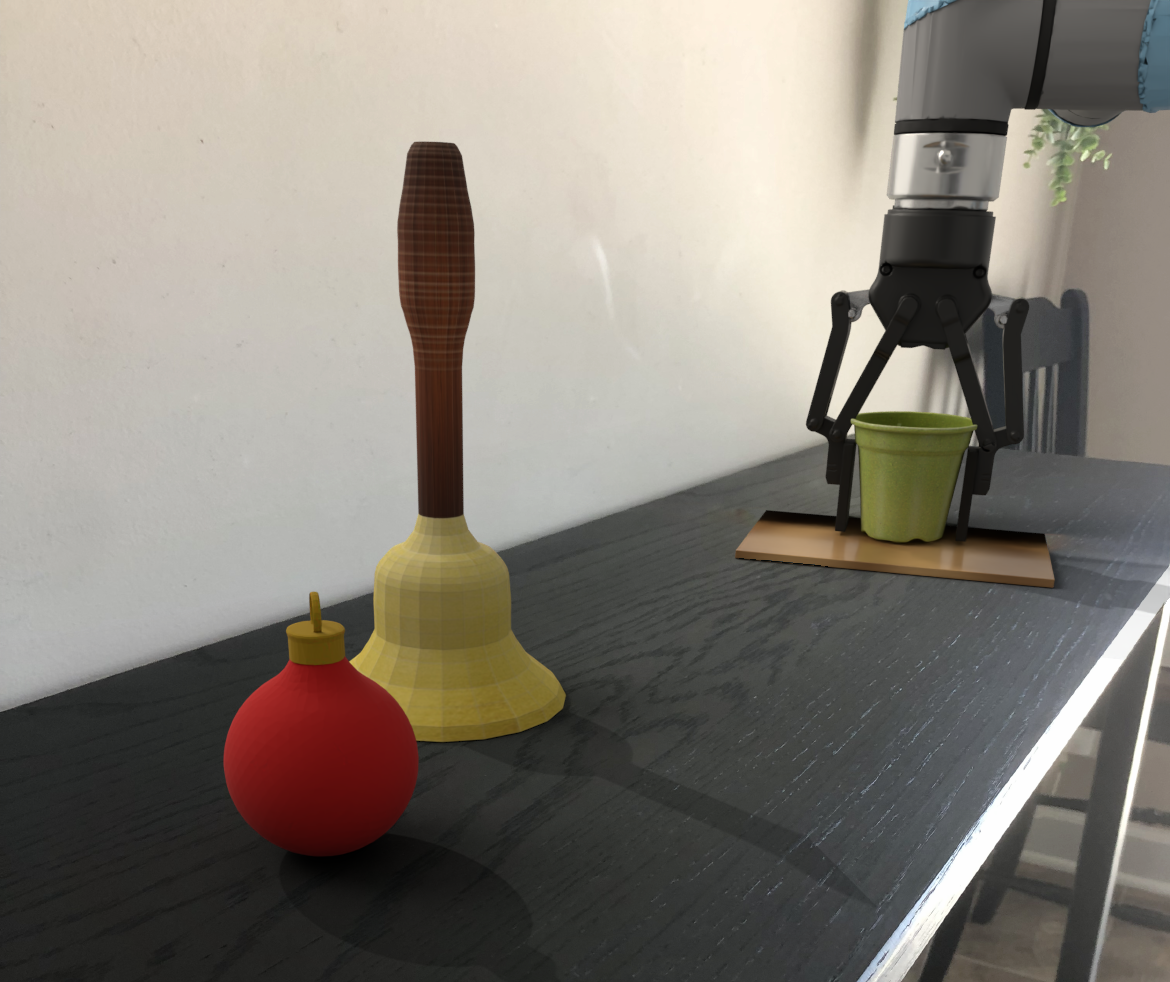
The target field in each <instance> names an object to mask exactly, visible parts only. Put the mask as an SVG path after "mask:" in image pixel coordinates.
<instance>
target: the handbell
mask: <svg viewBox="0 0 1170 982" xmlns="http://www.w3.org/2000/svg"><path fill="white" fill-rule="evenodd" d="M405 158H406V160H405V167H404V175H403V183H402V189H401V194H400V199H399V205H398V215H397V222H396V223H397V224H396V225H397V226H396V234H397V236H396V237H397V276H398V279H397V280H398V296H399V304H400V307H401V309H402V313H403V317H404V321H405V324H406V327H407V331H408V334H409V337H410V340H411V345H412V354H413V362H414V364H413V365H414V389H415V390H414V392H415V393H414V395H415V397H414V398H415V433H416V434H415V435H416V437H415V438H416V472H417V474H416V475H417V504H418V505H417V512H418V514H417V517H416V520H415V524H414V528H413V530H412V532H411V533H410V534H409V536H408V537H407V538H406V540H405V541H403V542H400V543H398V544H395V545H393V546H392V547H390V549H389V550H388V551H387V552H386V553H385V554H384V555H383V556H382V558H381V559H380V560H379V561H378V562H377V565H376V566H375V570H374V574H373V575H374V576H373V577H374V578H373V583H374V584H373V600H372V601H373V619H374V622H373V623H374V629H373V631H372V633H371V635H370V637H369V639H368V640H367V642H366V644H365V645H364V647H363V648H362V649H361V651H360V652H359V653H358V654H356V656H355V657H353V658H352V659H350V660H348V661H349V662H350V663H351V664H352V665H353V666H354V667H355V668H356V669H357V670H358V671H359V672H360V673H362V674H363V675H365V676H366V677H368V678H370V679H371V680H373V681H375V682H376V683H378V684H379V685H380V686H382V687H383V688H384V689H385V690H387V691H388V692H389V693H390V694H391V695H392V696H393V698H394V699H395V700H396V701H397V702H398V703H399V705H400V706H401V708H402V709H403V710H404V712H405V714H406V715H407V717H408V719H409V721H410V724H411V726H412V728H413V731H414V734H415V738H416V742H419V741H420V742H436V743H446V742H447V743H449V742H459V741H460V742H462V741H476V740H477V741H478V740H479V741H480V740H487V739H493V738H496V737H502V736H506V735H511V734H516V733H521V732H523V731H527V730H528V729H531V728H533V727H536V726H538V725H541V724H543V723H547V722H548V721H550V720H551V719H552V718H553V717H554V716H555V715H557V714H558V713H559V712H561V711H562V710H563V709H564V705H565V700H566V697H567V694H566V692H565V691H564V689H563V687H562V685H561V683H560V681H559V680H558V679H557V677H556V675H555V674H554V673H553V671H551V670H550V669H548V667H546V666H545V665H544V664H542V663H541V662H540V661H539V660H538V659H535V658H534V657H533V656H532V655H531V654H529V652H527V651H526V650H525V649H524V647H523V646H522V644H521V643H520V641H519V640H518V638H517V637H516V636H515V634H514V632H513V629H512V594H511V580H510V572H509V569H508V568H509V567H508V566H507V564H506V562H505V561H504V560H503V558H502V557H501V556H500V555H499V553H497V551H496V550H495V549H493V548H492V547H491V546H489V545H488V544H485V543H483V542H480V541H478V540H477V539H476V538H475V536H474V535H473V533H472V532H471V531H470V530H469V527H468V523H467V520H466V517H465V516H466V515H465V512H464V511H465V510H464V509H465V508H464V507H465V506H464V505H465V502H464V501H465V500H464V421H463V420H464V419H463V417H464V416H463V415H464V414H463V413H464V412H463V405H464V404H463V403H464V401H463V360H464V346H465V340H466V336H467V333H468V329H469V326H470V322H471V317H472V314H473V311H474V308H475V300H476V299H475V298H476V253H475V233H476V232H475V222H474V216H473V209H472V208H473V207H472V204H471V203H472V202H471V200H470V193H469V189H468V183H467V178H466V171H465V166H464V159H463V154H462V152H461V150H460V148H459V146H458V145H457V144H456V143H454V142H445V141H414V142H412V143H411V145H410V147H409V149H408V151H407V153H406V157H405Z"/></svg>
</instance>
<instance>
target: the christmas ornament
mask: <svg viewBox="0 0 1170 982" xmlns="http://www.w3.org/2000/svg"><path fill="white" fill-rule="evenodd" d="M308 600H309V601H308V602H309V603H308V604H309V618H310V620H301V621H298V622H295V623H291V624H290V625H288V626H287V627H286V630H285V633H286V636H287V645H288V646H287V647H288V658H289V659H288V662H287V663H286V665H285V667H284V668H283V669H282V670H281V671H280V672H279V673H278V674H276V675H275V676H274V677H271V678H270V679H269V680H267V681H266V682H264V683H263V684H261V685H260V686H259V687H258V688H257V689H256V690H254V691H253V692H252V693H251V694H250V695H249V696H248V697H247V698H246V699H245V701H244V702H243V703H242V705H241V706H240V707H239V708H238V710H237V712H236V714H235V715H234V717H233V719H232V721H231V724H230V726H229V729H228V731H227V734H226V739H225V743H224V750H223V771H224V777H225V784H226V786H227V790H228V793H229V795H230V798H231V800H232V801H233V804H234V806H235V808H236V810H237V812H238V814H240V815H241V817H242V818H243V820H244V822H245V823H246V824H248V825H249V827H250V828H252V830H254V831H255V832H256V833H257V834H258V835H259V836H260V837H261V838H263V839H265V840H266V841H267V842H269V843H271V844H272V845H274V846H276V847H279V848H280V849H282V850H285V851H288V852H291V853H294V854H299V855H303V856H310V857H334V856H341V855H344V854H348V853H352V852H355V851H358V850H360V849H363V848H364V847H366V846H368V845H370V844H372V843H374V842H376V841H377V840H378V839H379V838H381V837H382V836H384V835H385V834H386V833H387V832H388V831H389V830H390V829H391V828H392V827H393V826H395V824H396V823H397V822H398V820H400V818H401V816H402V815H403V814H404V812H405V810H406V809H407V807H408V805H409V803H410V801H411V799H412V797H413V795H414V791H415V788H416V784H417V780H418V775H419V759H420V757H419V749H418V741H416V738H415V734H414V731H413V728H412V726H411V724H410V721H409V719H408V717H407V715H406V714H405V712H404V710H403V709H402V708H401V706H400V705H399V703H398V702H397V701H396V700H395V699H394V698H393V696H392V695H391V694H390V693H389V692H388V691H387V690H385V689H384V688H383V687H382V686H380V685H379V684H378V683H376V682H375V681H373V680H371V679H370V678H368V677H366V676H365V675H363V674H362V673H360V672H359V671H358V670H357V669H356V668H355V667H354V666H353V665H352V664H351V663H350V662H349V661H350V660H349V659H348V658H347V656H346V647H345V633H346V629H345V626H344V625H342V624H341V623H340V622H337V621H333V620H325V619H322V609H321V600H320V594H319V592H318V591H310V592H309V594H308Z"/></svg>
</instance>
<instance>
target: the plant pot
mask: <svg viewBox="0 0 1170 982" xmlns="http://www.w3.org/2000/svg"><path fill="white" fill-rule="evenodd" d="M851 424H852V426H853V430H854V439H855V441H856V443H857V445H856V446H857V454H858V476H859V497H860V498H859V500H860V501H859V502H860V503H859V504H860V505H859V506H860V518H861V531H862V532H864V533H867V534H868V536H869V537H872V538H874V539H877V540H888V541H893V542H908V541H910V540H912V539H917V538H918V539H921V540H923V541H925V542H931V541H934V540H937V539H940V538H941V537H942V536H943V533H944V529H945V525H947V521H948V517H949V513H950V510H951V506H952V502H953V498H954V494H955V491H956V486H957V483H958V480H959V475H960V473H961V472H960V471H961V468H962V465H963V460H964V457H965V453H966V450H968V447H970V444H971V441H972V437H973V435H974V433H975V430H976V429H977V425H973V424H972V420H971V417H967V416H963V415H957V414H949V413H941V412H940V413H938V412H930V411H926V412H925V411H909V410H907V411H906V410H905V411H904V410H903V411H901V410H892V411H891V410H890V411H889V410H888V411H887V410H886V411H870V412H869V411H868V412H859V414H858V415H857V417H856V419H851Z"/></svg>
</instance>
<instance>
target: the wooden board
mask: <svg viewBox="0 0 1170 982" xmlns="http://www.w3.org/2000/svg"><path fill="white" fill-rule="evenodd" d="M835 525H836V515H828V514H817V513H805V512H795V511H794V512H793V511H780V510H770V509H767V510H766V509H765V511H764V512H763V513H762V515H761V516H760V518H759V519H758V520H757V521H756V523H755V524H754V525H753V527H752V528H751V529H750V531H749V532H748V533H747V535H746V536H745V537H744V539H742V542H741V543H740V544H739V546H738V547H737V548H736V549H735V554H734V558H735V559H739V558H744V559H743V560H750V559H756V560H755V561H761V560H772V561H783V562H793V563H803V564H815V565H821V566H820V567H825V566H828V567H827V568H837V569H846V570H847V569H848V570H857V571H858V570H859V571H868V572H881V573H888V574H889V573H890V574H898V575H899V574H901V575H911V576H920V577H930V578H931V577H933V578H943V579H953V580H964V581H975V582H986V583H995V584H996V583H997V584H1008V585H1018V586H1028V587H1037V588H1038V587H1039V588H1050V589H1053V588H1054V587H1055V583H1056V579H1055V575H1054V570H1053V565H1052V561H1051V556H1050V552H1049V551H1050V550H1049V546H1048V543H1047V537H1046V533H1044V532H1031V531H1020V530H1008V529H1007V530H1006V529H995V528H982V527H973V526H972V527H970V526H968V530H967V536H966V542H963V541H955V539H956V529H957V525H948V524H946V525H945V529H944V533H943V536H942V537H941V538H940V539H937V540H934V541H931V542H925V541H923V540H921V539H918V538H917V539H912V540H910V541H908V542H893V541H888V540H877V539H874V538H872V537H869V536H868V534H867V533H864V532H862V531H861V517H853V516H849V520H848V526H847V528H846V530H845V532H841V531H835ZM793 563H792V564H793ZM803 564H802V565H803Z"/></svg>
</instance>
